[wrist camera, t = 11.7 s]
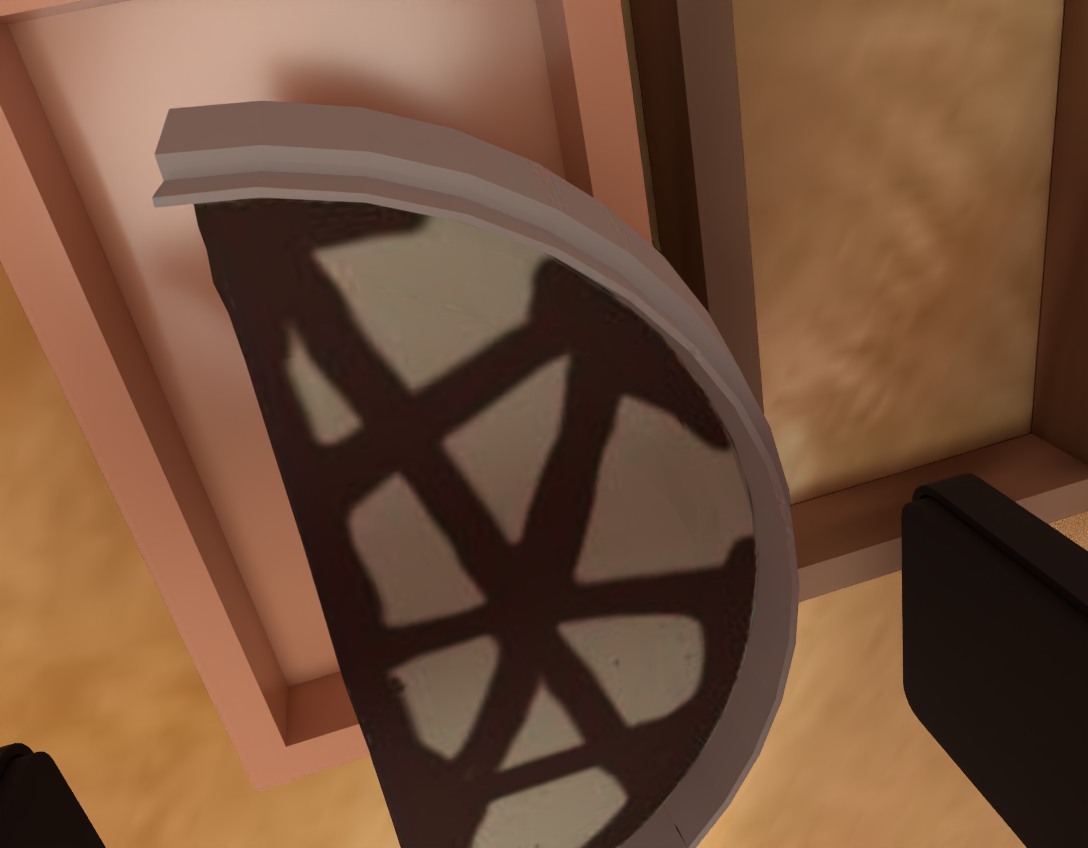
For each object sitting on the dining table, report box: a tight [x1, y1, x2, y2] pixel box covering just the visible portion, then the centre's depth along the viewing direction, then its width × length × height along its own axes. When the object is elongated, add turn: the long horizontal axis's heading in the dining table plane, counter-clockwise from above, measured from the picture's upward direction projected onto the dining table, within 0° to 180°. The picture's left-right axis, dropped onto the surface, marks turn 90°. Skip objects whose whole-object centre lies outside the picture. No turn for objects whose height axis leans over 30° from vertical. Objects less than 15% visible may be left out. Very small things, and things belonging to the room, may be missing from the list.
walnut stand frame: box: [630, 0, 1088, 602], centre depth 19 cm, size 11×16×2 cm
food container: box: [152, 101, 799, 848], centre depth 14 cm, size 12×6×10 cm, turn 9°
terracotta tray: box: [0, 0, 653, 792], centre depth 18 cm, size 11×17×2 cm, turn 11°
